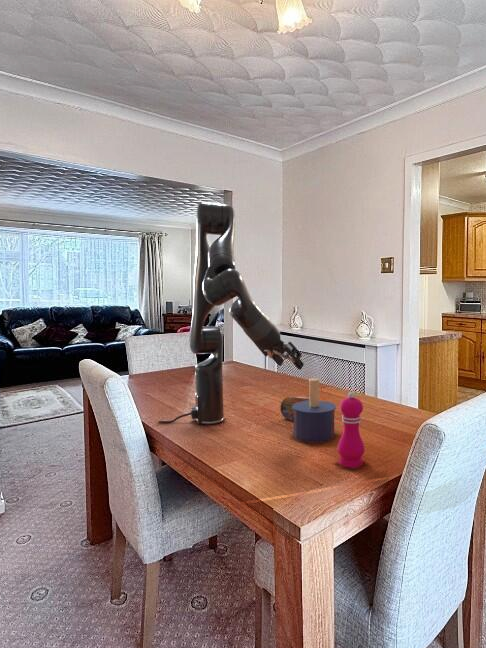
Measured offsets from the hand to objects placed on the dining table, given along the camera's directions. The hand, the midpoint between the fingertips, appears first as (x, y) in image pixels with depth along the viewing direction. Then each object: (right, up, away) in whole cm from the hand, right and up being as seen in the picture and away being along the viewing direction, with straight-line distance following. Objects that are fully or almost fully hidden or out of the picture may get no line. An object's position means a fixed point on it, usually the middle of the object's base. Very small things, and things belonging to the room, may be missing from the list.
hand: (291, 365), depth 134 cm
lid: (+7, -14, +9) cm, 18 cm away
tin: (+3, -21, +26) cm, 34 cm away
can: (+7, -23, +10) cm, 26 cm away
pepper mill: (+16, -26, -12) cm, 33 cm away
